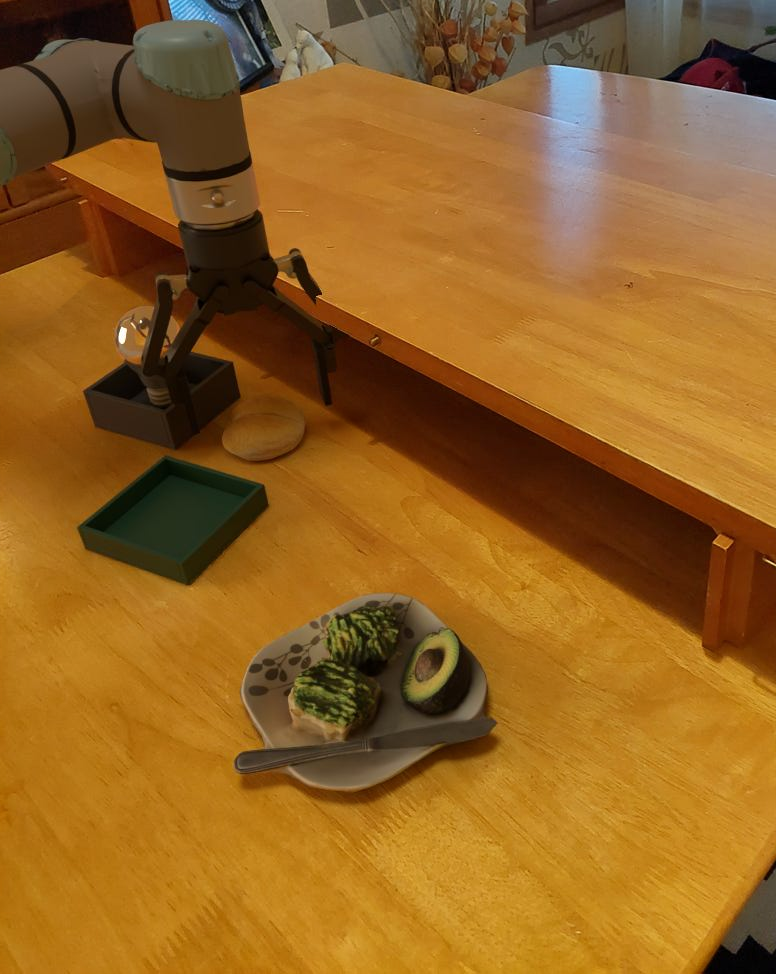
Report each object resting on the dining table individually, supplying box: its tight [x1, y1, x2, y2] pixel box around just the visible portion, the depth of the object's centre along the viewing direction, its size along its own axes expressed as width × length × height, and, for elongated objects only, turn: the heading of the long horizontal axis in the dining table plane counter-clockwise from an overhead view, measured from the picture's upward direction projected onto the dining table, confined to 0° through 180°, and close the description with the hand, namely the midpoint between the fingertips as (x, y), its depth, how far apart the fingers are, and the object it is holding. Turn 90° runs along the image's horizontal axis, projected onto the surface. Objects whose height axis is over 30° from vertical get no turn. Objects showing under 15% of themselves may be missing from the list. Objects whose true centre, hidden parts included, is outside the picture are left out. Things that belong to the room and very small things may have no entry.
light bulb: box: [113, 304, 182, 409], centre depth 99 cm, size 7×7×12 cm
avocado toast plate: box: [233, 592, 499, 794], centre depth 68 cm, size 19×18×5 cm
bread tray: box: [76, 454, 270, 586], centre depth 86 cm, size 12×12×3 cm
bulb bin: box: [82, 351, 241, 451], centre depth 101 cm, size 11×11×5 cm
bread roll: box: [221, 394, 307, 462], centre depth 97 cm, size 8×9×4 cm
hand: (262, 412), depth 96 cm, fingers open, 13 cm apart
